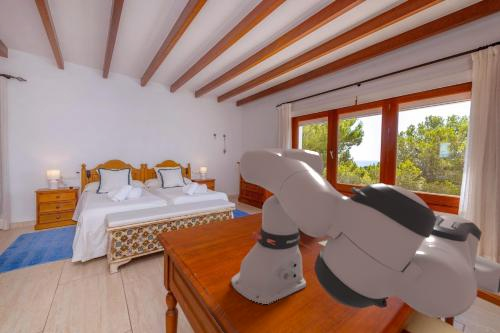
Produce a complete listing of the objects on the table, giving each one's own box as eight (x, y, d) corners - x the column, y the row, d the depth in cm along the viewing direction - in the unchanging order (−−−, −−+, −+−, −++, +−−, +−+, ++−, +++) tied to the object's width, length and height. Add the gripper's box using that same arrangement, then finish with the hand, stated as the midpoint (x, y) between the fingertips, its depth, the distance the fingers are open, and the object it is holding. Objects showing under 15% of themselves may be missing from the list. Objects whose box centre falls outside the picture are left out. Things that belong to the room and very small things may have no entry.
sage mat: (354, 249, 84) (354, 247, 84) (337, 254, 79) (337, 252, 79) (334, 240, 93) (334, 238, 92) (317, 244, 88) (317, 242, 88)
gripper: (407, 270, 62) (363, 251, 74) (440, 257, 71) (397, 242, 83) (408, 249, 62) (364, 234, 74) (442, 238, 71) (397, 226, 83)
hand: (382, 238), depth 79 cm, fingers open, 8 cm apart
